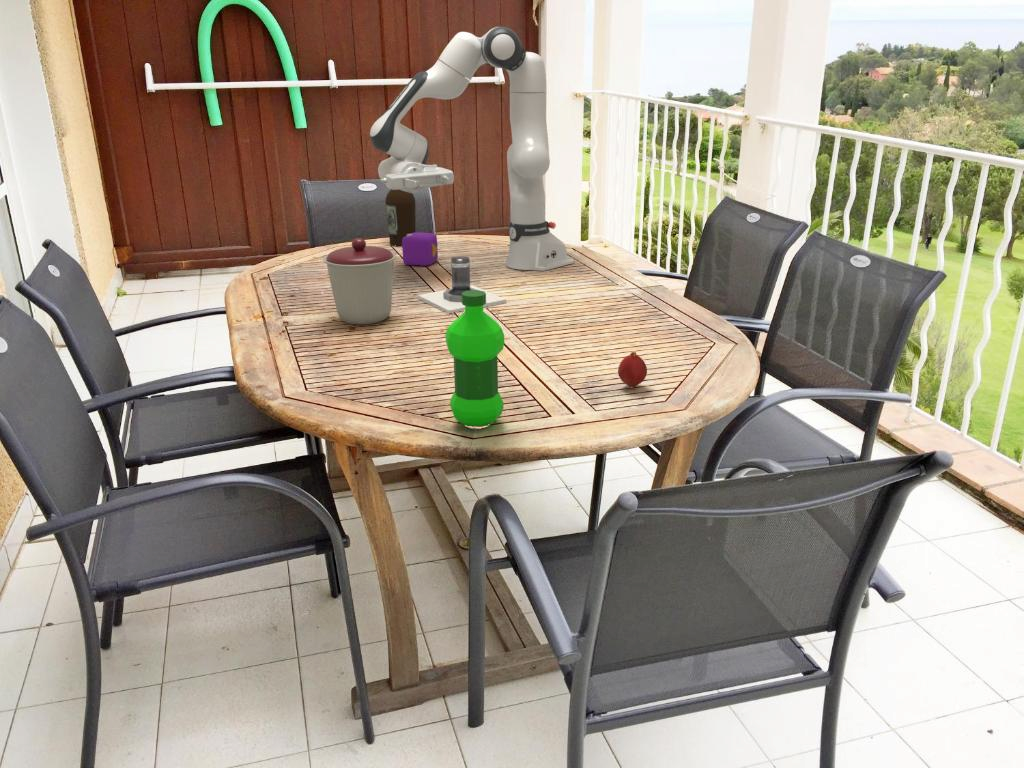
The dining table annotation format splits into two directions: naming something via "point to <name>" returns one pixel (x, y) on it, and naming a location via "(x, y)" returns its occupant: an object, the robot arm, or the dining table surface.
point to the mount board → (457, 305)
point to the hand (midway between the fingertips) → (432, 182)
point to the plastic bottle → (475, 362)
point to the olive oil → (400, 215)
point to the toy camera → (420, 249)
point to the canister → (361, 282)
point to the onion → (632, 370)
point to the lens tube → (460, 274)
